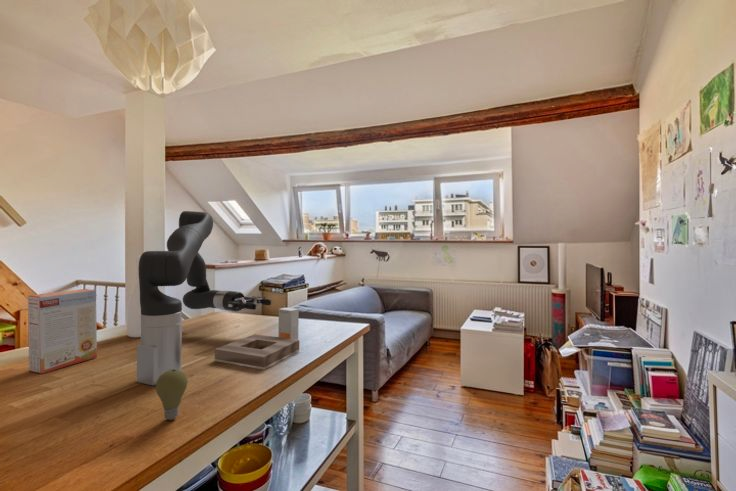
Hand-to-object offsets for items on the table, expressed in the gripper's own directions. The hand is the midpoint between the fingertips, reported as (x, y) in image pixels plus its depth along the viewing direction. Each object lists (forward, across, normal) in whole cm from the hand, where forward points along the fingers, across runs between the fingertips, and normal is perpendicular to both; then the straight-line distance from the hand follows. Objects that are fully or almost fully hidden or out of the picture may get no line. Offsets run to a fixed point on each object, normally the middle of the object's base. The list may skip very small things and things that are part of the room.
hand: (263, 304), depth 127 cm
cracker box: (-35, -44, +12) cm, 58 cm away
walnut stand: (+11, -16, +12) cm, 23 cm away
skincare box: (+11, 0, +13) cm, 17 cm away
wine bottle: (-45, -14, +13) cm, 49 cm away
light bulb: (+20, -54, +12) cm, 59 cm away
